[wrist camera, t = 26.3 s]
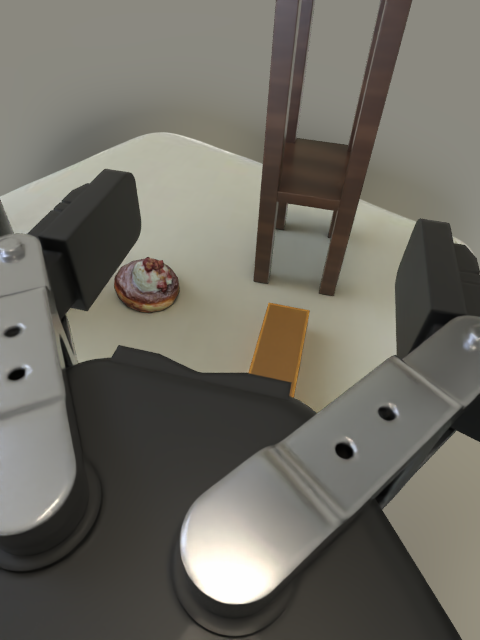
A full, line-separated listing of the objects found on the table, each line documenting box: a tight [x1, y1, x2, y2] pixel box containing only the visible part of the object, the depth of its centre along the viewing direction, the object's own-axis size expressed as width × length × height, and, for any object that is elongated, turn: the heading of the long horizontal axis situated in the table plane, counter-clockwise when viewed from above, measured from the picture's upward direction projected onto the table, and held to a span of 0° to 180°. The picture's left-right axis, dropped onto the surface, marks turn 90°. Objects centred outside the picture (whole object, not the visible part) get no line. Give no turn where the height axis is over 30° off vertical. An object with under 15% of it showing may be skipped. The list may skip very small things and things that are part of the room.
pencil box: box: [249, 303, 310, 398], centre depth 40 cm, size 22×4×3 cm, turn 166°
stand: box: [254, 0, 412, 296], centre depth 46 cm, size 14×10×32 cm
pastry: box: [114, 257, 179, 313], centre depth 49 cm, size 8×8×5 cm
